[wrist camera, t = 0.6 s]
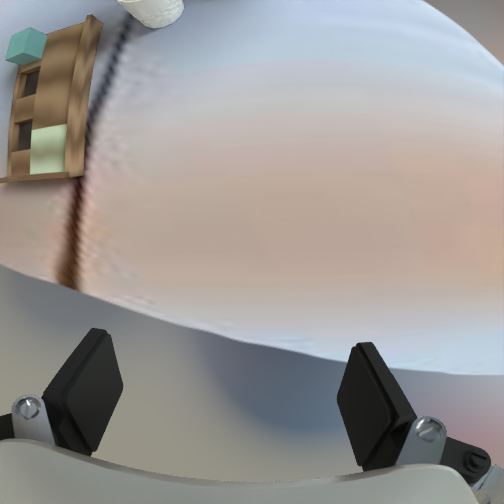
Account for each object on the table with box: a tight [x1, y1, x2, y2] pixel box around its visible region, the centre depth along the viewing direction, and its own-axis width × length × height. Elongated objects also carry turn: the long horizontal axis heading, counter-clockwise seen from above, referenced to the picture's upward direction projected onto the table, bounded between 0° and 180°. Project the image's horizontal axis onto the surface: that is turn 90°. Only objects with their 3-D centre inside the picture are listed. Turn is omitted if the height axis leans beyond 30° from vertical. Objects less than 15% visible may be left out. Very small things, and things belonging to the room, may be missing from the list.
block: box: [5, 27, 47, 65], centre depth 25 cm, size 4×4×5 cm
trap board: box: [0, 14, 103, 183], centre depth 30 cm, size 25×16×4 cm, turn 176°
